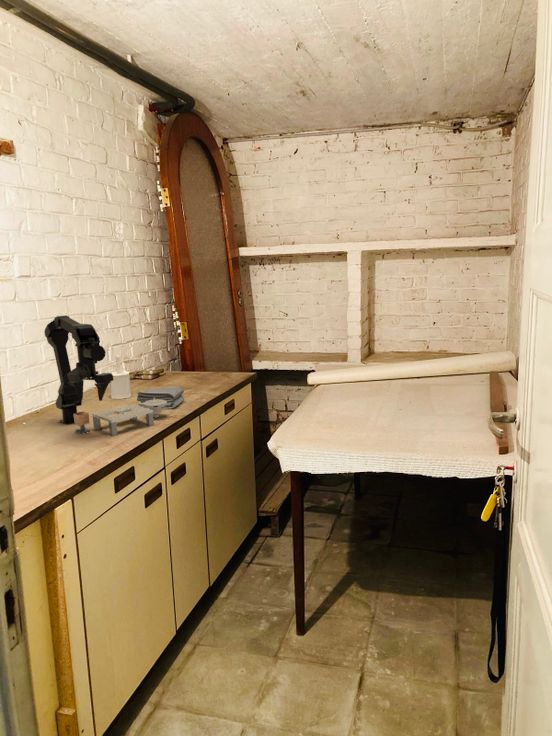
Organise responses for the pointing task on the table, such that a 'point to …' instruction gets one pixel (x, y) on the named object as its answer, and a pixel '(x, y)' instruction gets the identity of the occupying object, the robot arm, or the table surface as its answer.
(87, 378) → the robot arm
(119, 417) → the keyhole stand
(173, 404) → the towel
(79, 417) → the peg
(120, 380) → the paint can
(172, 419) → the table surface
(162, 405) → the showerhead
